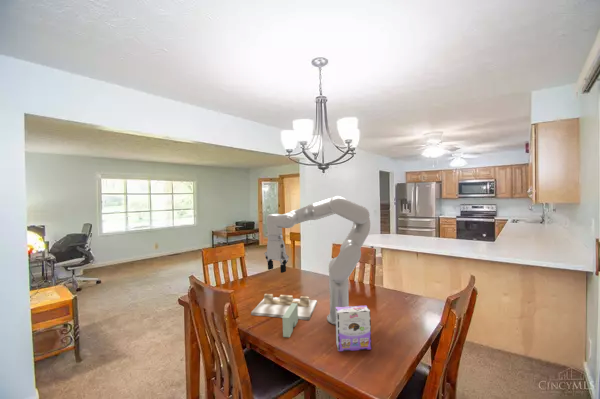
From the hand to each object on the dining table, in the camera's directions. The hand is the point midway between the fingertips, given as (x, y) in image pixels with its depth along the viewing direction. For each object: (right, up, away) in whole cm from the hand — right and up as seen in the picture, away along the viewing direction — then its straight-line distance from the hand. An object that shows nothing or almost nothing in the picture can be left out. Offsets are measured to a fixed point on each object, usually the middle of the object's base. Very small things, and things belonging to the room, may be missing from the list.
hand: (276, 270), depth 142 cm
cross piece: (+8, -25, -10) cm, 28 cm away
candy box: (+34, -25, -26) cm, 50 cm away
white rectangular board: (+4, -25, +13) cm, 28 cm away
